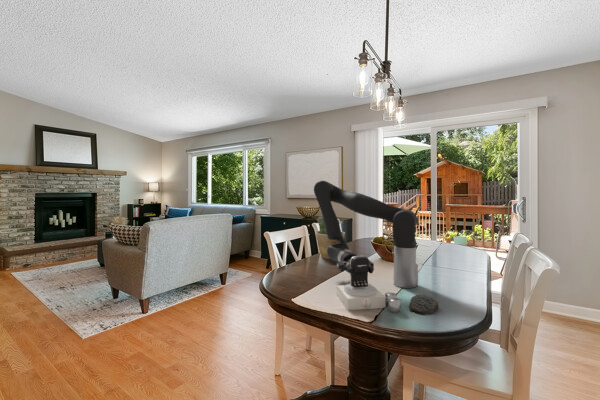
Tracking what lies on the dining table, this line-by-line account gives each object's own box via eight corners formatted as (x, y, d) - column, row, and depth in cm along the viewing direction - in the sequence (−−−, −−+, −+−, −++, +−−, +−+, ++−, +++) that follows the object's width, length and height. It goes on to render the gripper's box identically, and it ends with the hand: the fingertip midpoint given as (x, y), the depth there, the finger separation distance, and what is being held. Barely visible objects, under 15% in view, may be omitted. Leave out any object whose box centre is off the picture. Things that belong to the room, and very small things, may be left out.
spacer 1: (393, 302, 106) (393, 292, 106) (398, 307, 102) (398, 296, 102) (383, 303, 105) (383, 292, 105) (387, 307, 101) (388, 296, 101)
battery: (353, 289, 104) (353, 258, 104) (349, 285, 108) (349, 256, 108) (370, 287, 106) (371, 257, 105) (366, 284, 110) (366, 255, 109)
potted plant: (344, 253, 187) (344, 216, 186) (345, 260, 168) (346, 219, 167) (316, 253, 188) (316, 216, 188) (315, 260, 170) (315, 218, 169)
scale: (370, 293, 115) (370, 281, 115) (386, 308, 101) (386, 294, 100) (337, 295, 113) (337, 283, 113) (348, 310, 99) (348, 296, 99)
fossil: (441, 306, 103) (441, 296, 103) (429, 318, 93) (430, 307, 93) (414, 299, 110) (414, 289, 110) (400, 310, 100) (400, 299, 100)
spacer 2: (397, 308, 101) (397, 297, 101) (402, 313, 97) (402, 301, 97) (386, 309, 100) (386, 298, 100) (391, 314, 96) (391, 302, 96)
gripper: (332, 251, 120) (343, 261, 103) (364, 250, 122) (380, 260, 105) (332, 269, 120) (343, 282, 104) (364, 267, 122) (380, 280, 106)
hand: (361, 271), depth 105 cm, fingers closed on battery, 7 cm apart
